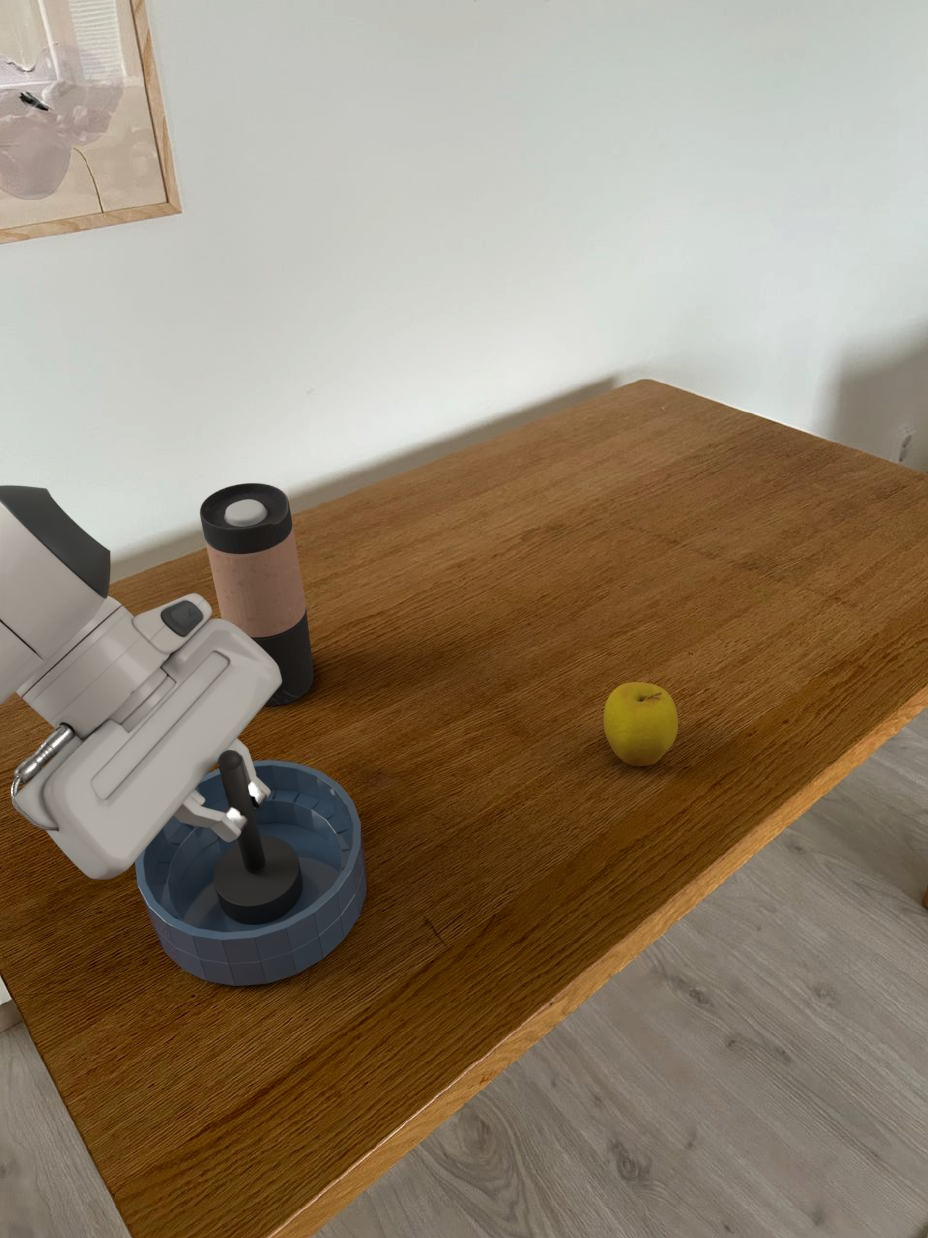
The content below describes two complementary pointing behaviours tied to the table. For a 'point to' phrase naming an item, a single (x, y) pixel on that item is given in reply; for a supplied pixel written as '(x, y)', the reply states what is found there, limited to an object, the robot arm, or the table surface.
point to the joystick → (253, 860)
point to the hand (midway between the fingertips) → (250, 817)
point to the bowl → (269, 952)
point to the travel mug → (261, 578)
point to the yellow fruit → (640, 722)
